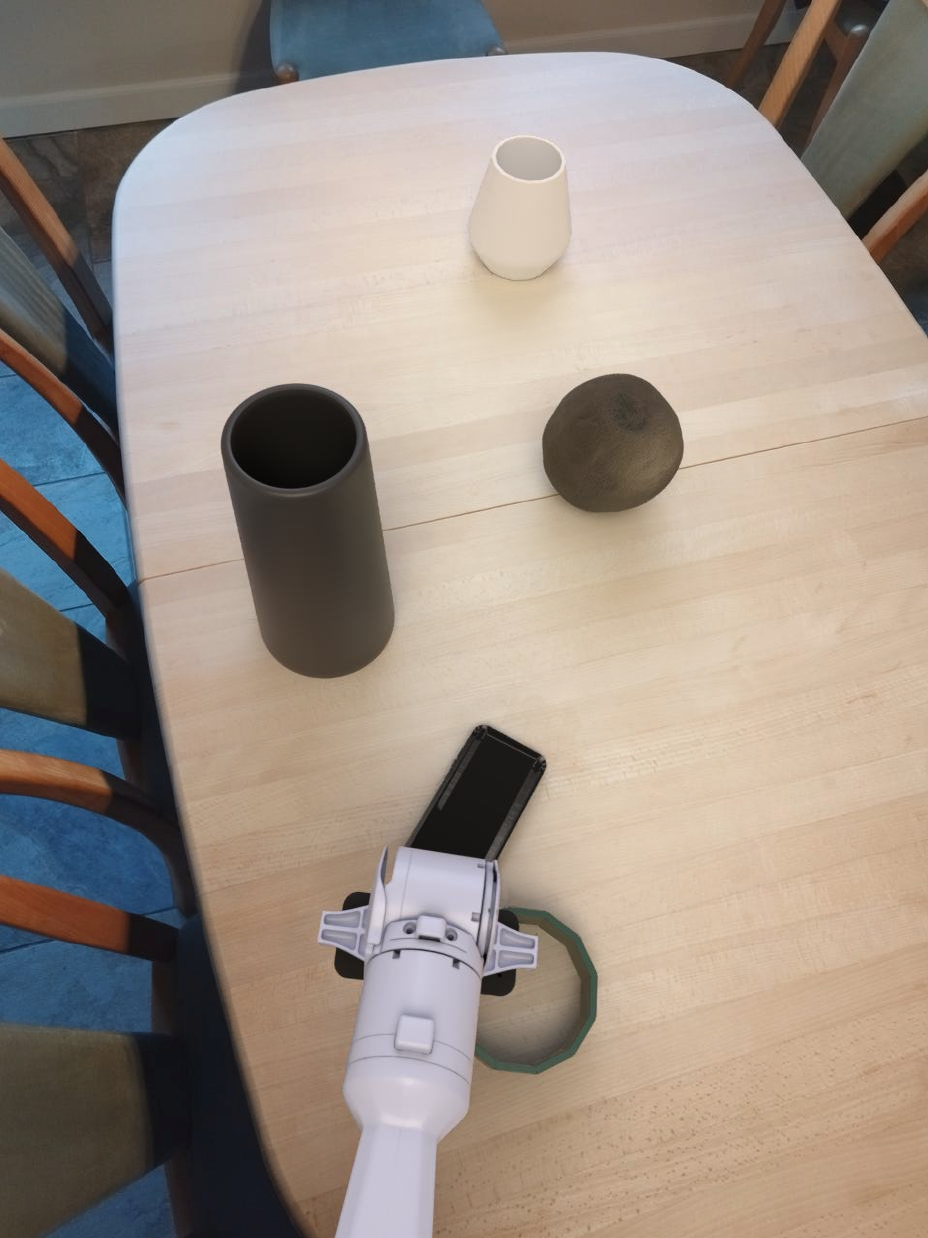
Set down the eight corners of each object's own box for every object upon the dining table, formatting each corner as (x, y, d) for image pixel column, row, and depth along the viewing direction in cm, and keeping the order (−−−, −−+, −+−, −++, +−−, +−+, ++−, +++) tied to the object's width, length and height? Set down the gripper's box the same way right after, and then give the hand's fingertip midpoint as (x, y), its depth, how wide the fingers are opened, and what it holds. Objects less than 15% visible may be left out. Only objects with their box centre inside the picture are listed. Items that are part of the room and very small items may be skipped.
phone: (550, 759, 82) (473, 903, 75) (549, 763, 83) (472, 905, 76) (478, 719, 83) (396, 856, 77) (477, 723, 84) (396, 859, 78)
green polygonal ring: (584, 1080, 71) (594, 1082, 67) (436, 1063, 71) (437, 1063, 67) (589, 924, 76) (599, 917, 72) (452, 908, 76) (455, 900, 72)
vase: (416, 646, 88) (419, 475, 62) (289, 700, 84) (235, 543, 58) (362, 542, 93) (344, 344, 67) (240, 588, 90) (172, 398, 64)
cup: (490, 208, 118) (499, 108, 106) (581, 241, 116) (602, 143, 104) (448, 269, 112) (453, 171, 100) (543, 305, 110) (560, 210, 98)
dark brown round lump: (548, 548, 94) (571, 464, 80) (523, 444, 100) (541, 350, 87) (672, 535, 95) (715, 450, 82) (641, 434, 102) (676, 340, 88)
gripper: (551, 878, 55) (525, 909, 67) (324, 851, 55) (339, 887, 67) (544, 998, 52) (518, 1008, 64) (303, 970, 52) (323, 985, 64)
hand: (426, 953), depth 65 cm, fingers open, 7 cm apart
